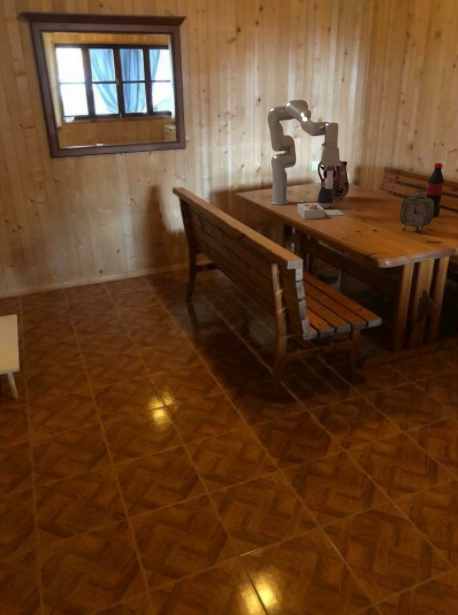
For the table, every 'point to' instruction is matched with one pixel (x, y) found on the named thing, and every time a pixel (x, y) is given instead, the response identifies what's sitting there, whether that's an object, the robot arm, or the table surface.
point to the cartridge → (329, 178)
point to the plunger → (312, 206)
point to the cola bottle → (436, 187)
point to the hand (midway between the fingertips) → (329, 177)
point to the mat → (333, 213)
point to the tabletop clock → (417, 210)
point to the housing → (310, 211)
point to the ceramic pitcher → (338, 181)
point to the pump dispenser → (325, 197)
